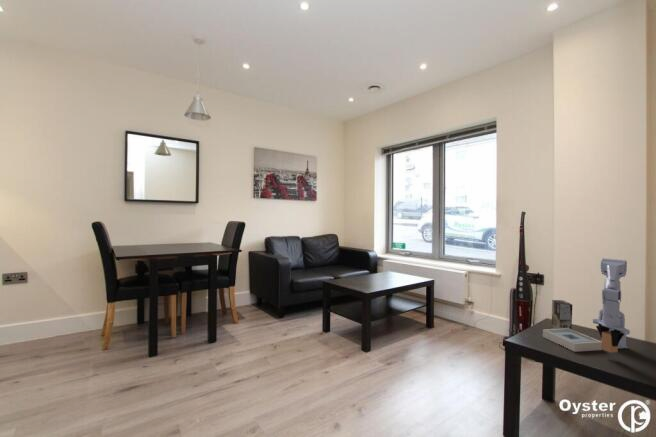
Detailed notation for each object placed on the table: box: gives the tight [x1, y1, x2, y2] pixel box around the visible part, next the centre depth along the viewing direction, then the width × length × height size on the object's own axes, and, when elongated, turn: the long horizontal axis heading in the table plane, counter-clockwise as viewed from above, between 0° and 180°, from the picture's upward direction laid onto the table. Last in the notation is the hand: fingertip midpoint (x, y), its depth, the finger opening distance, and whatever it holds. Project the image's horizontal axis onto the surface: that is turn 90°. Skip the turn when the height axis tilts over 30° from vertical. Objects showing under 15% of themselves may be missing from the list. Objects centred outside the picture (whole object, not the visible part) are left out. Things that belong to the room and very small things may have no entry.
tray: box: [542, 328, 603, 353], centre depth 160 cm, size 16×18×4 cm
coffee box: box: [551, 299, 573, 330], centre depth 178 cm, size 9×6×16 cm
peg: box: [601, 331, 619, 353], centre depth 143 cm, size 4×4×8 cm
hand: (609, 343), depth 143 cm, fingers closed on peg, 4 cm apart
